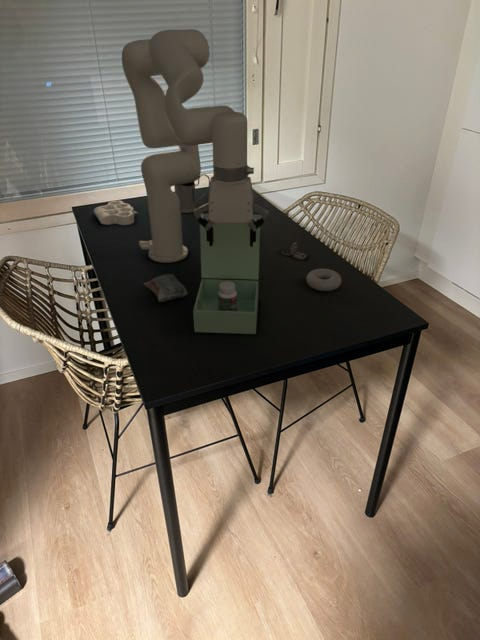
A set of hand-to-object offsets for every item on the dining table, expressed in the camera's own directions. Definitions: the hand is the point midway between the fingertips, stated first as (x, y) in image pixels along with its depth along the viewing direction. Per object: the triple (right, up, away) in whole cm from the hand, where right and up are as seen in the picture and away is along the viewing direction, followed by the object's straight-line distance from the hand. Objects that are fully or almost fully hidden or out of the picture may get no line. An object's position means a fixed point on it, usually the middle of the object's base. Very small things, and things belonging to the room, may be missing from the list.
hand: (231, 244), depth 119 cm
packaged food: (-19, -12, +18) cm, 28 cm away
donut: (+26, -8, +23) cm, 36 cm away
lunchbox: (-1, -17, +10) cm, 20 cm away
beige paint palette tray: (-44, +20, +67) cm, 83 cm away
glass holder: (-16, +25, +74) cm, 80 cm away
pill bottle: (-1, -17, +9) cm, 19 cm away
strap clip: (+19, +2, +40) cm, 44 cm away
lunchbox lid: (-1, 0, +9) cm, 9 cm away
